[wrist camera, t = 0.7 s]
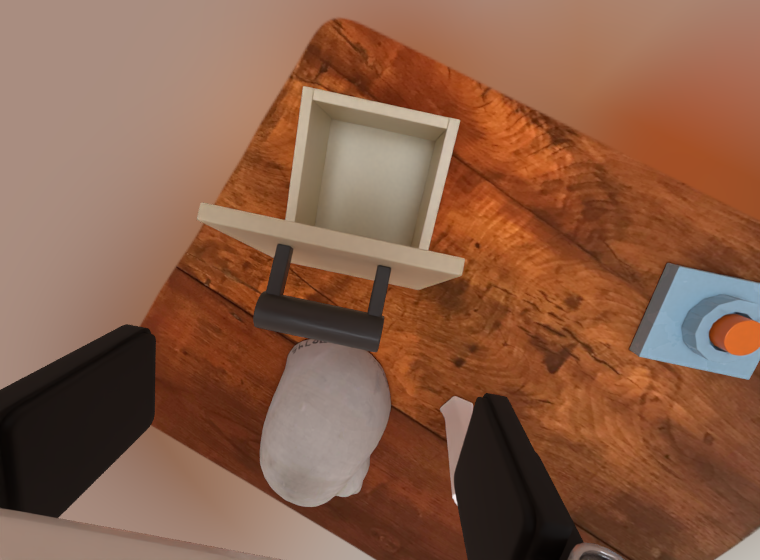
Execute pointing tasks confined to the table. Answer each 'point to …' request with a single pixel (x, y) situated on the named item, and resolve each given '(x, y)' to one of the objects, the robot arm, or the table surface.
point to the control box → (696, 320)
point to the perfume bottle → (456, 430)
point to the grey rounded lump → (324, 422)
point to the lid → (332, 255)
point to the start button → (736, 334)
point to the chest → (369, 168)
